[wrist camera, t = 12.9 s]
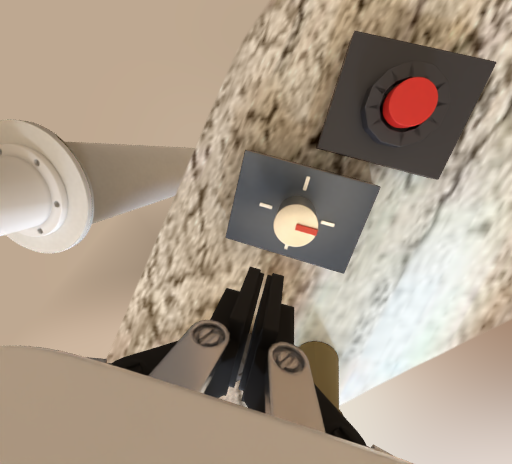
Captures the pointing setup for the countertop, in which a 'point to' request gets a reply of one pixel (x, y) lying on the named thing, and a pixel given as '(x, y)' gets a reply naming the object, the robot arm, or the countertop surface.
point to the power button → (410, 102)
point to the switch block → (377, 88)
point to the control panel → (312, 188)
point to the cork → (324, 369)
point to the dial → (296, 222)
